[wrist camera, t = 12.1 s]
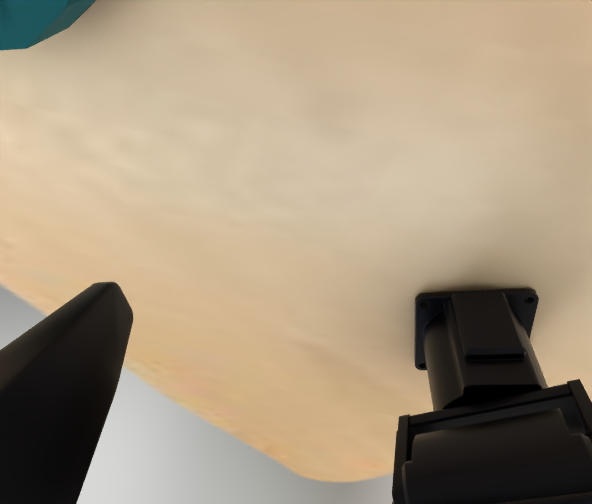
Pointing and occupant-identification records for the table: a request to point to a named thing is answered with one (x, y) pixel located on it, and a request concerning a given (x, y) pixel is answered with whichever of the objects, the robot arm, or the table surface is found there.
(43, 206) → the table surface
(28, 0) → the ring
